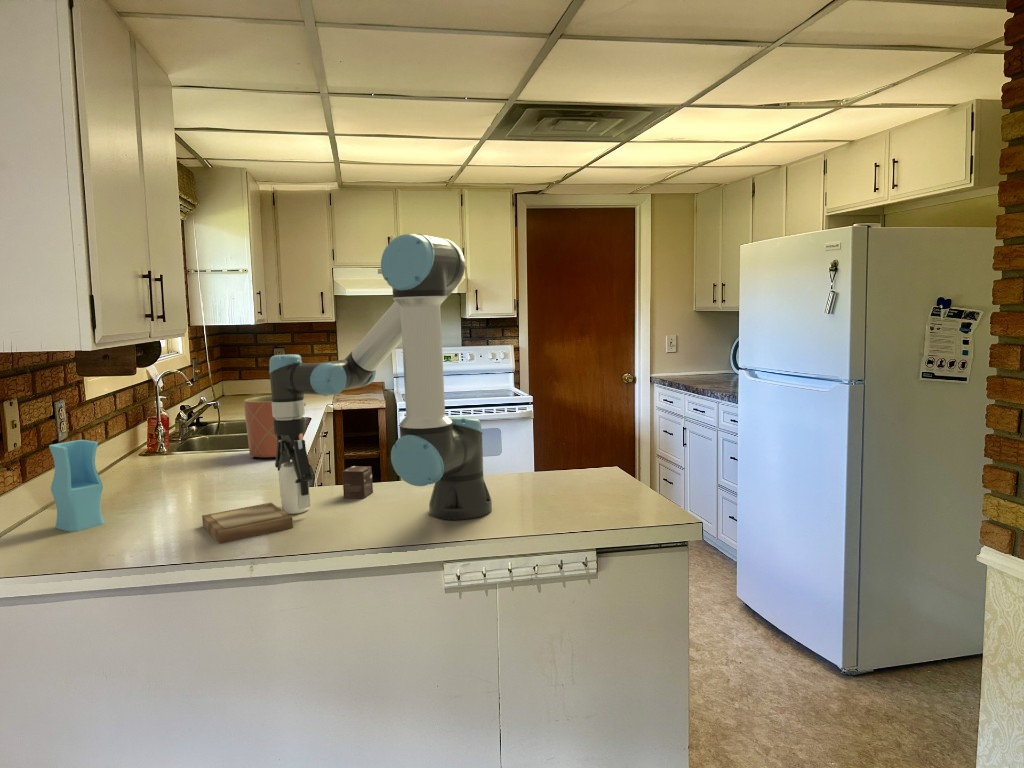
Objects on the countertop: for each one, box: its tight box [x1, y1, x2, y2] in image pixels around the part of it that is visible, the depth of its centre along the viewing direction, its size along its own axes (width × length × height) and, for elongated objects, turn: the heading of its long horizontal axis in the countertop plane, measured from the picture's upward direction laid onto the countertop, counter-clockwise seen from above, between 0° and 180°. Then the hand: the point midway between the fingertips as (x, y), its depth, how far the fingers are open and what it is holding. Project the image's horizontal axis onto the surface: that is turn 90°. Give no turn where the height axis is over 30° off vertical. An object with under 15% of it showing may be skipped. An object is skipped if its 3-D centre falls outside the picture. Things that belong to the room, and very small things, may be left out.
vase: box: [48, 439, 105, 533], centre depth 165 cm, size 8×8×20 cm
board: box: [201, 502, 294, 544], centre depth 161 cm, size 16×16×3 cm
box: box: [341, 465, 374, 499], centre depth 185 cm, size 6×6×7 cm
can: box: [278, 461, 310, 515], centre depth 172 cm, size 6×6×12 cm
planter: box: [243, 394, 304, 460], centre depth 241 cm, size 19×19×20 cm
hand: (295, 502), depth 172 cm, fingers open, 13 cm apart
